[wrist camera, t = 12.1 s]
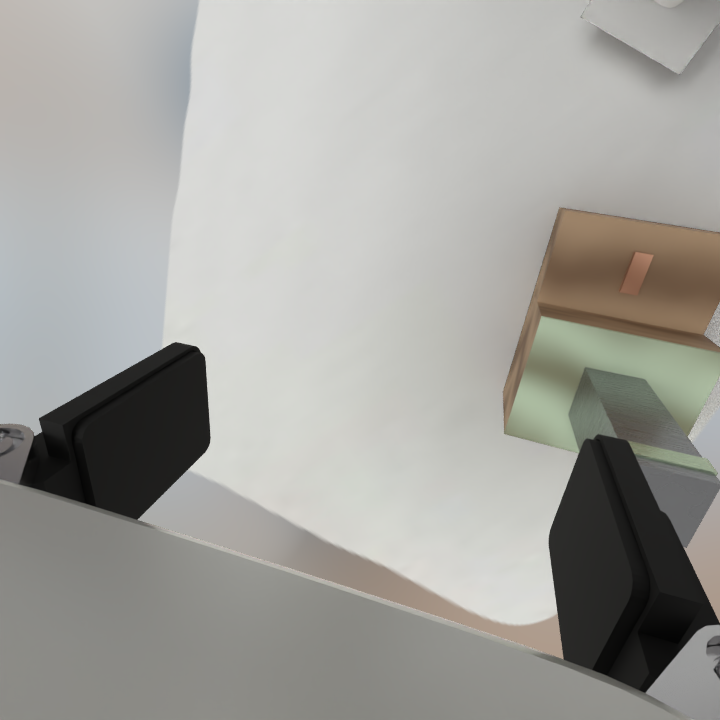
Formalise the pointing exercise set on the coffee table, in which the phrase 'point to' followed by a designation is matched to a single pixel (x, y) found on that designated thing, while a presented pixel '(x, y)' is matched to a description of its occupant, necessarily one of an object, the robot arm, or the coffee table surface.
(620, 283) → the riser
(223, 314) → the coffee table surface
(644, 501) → the robot arm
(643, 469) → the column
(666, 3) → the figurine
